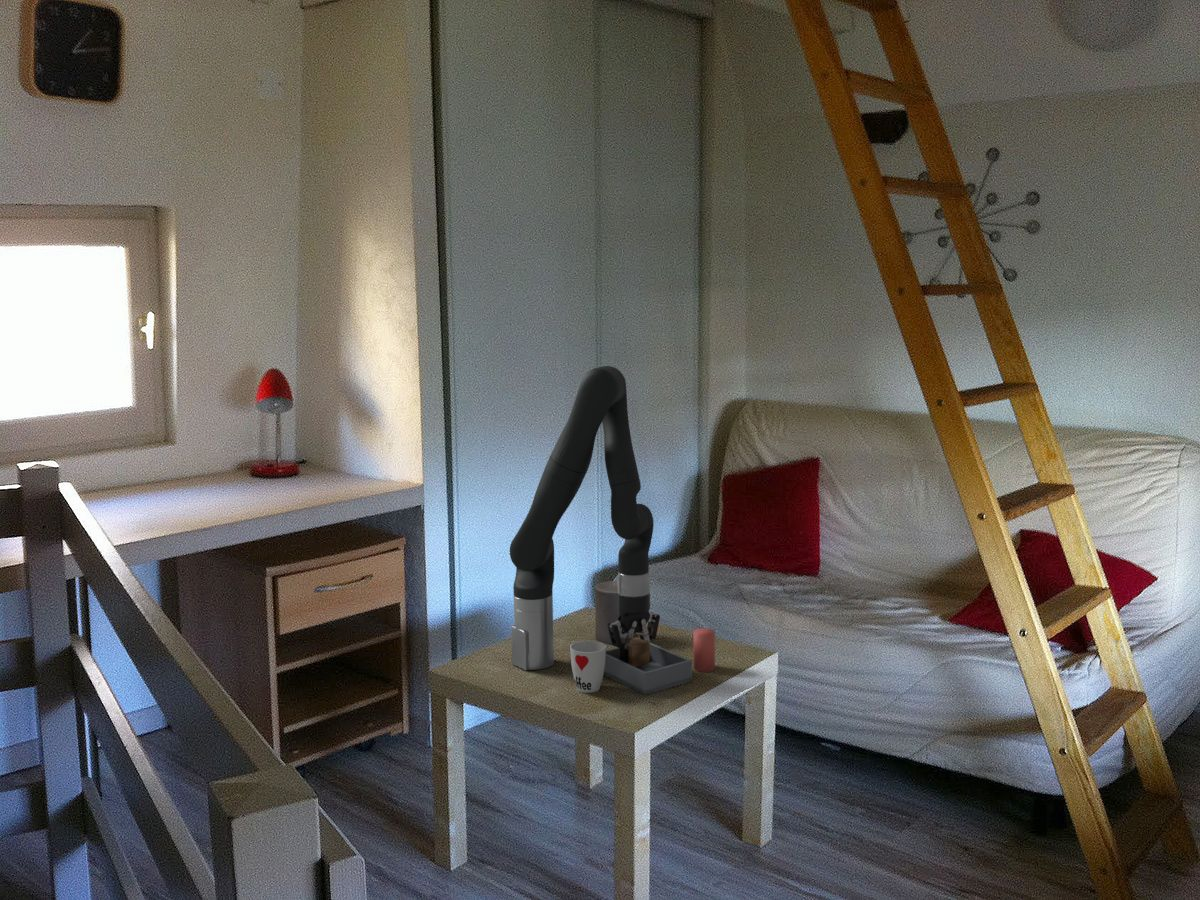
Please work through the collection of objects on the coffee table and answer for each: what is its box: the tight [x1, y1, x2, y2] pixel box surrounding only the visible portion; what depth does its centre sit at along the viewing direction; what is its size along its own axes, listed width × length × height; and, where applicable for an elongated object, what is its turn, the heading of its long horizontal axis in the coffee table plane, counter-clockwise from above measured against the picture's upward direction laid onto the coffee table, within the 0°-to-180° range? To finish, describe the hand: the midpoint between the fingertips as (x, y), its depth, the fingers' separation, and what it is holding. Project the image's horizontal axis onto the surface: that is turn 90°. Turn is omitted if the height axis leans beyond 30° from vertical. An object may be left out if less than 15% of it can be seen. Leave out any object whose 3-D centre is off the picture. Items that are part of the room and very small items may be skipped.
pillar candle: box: [594, 580, 634, 645], centre depth 311 cm, size 10×10×15 cm
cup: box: [569, 640, 607, 694], centre depth 278 cm, size 8×8×10 cm
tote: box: [603, 642, 693, 696], centre depth 285 cm, size 14×18×5 cm
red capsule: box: [692, 627, 716, 673], centre depth 290 cm, size 5×5×9 cm
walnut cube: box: [624, 636, 651, 667], centre depth 288 cm, size 5×5×5 cm
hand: (634, 660), depth 288 cm, fingers closed on walnut cube, 4 cm apart
